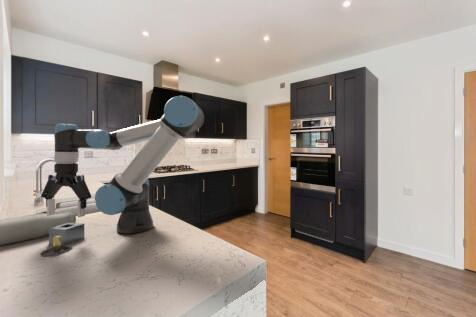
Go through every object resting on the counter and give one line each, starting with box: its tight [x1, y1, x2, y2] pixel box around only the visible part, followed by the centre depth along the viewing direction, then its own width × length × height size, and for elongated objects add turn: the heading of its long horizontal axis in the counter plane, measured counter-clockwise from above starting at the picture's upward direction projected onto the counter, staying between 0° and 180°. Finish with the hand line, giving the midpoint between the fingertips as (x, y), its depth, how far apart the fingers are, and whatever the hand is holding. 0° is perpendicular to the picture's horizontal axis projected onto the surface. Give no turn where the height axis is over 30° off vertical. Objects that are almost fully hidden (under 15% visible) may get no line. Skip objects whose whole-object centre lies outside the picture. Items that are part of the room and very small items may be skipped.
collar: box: [48, 222, 85, 246], centre depth 89 cm, size 8×8×6 cm
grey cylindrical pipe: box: [0, 211, 77, 246], centre depth 94 cm, size 10×10×28 cm
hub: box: [40, 235, 74, 258], centre depth 80 cm, size 9×9×5 cm
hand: (66, 215), depth 89 cm, fingers open, 13 cm apart
